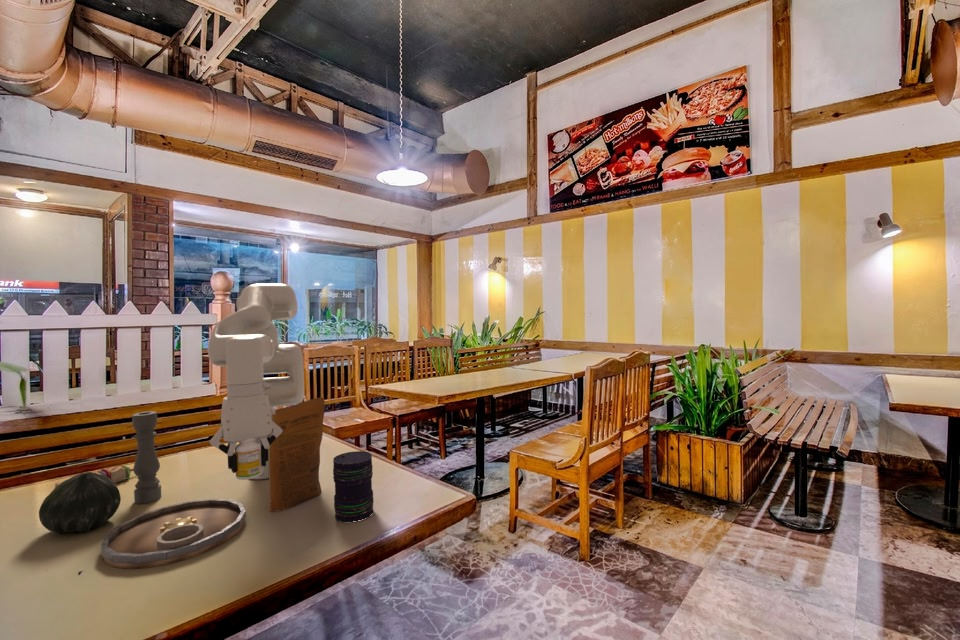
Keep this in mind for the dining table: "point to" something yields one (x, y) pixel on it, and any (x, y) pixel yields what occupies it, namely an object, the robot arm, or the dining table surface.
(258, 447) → the supplement bottle
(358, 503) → the black ridged cylinder
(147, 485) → the candle holder
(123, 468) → the skewer
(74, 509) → the squash
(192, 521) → the sun gear
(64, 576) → the dining table surface
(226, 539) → the carrier plate
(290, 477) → the pancake mix bag
